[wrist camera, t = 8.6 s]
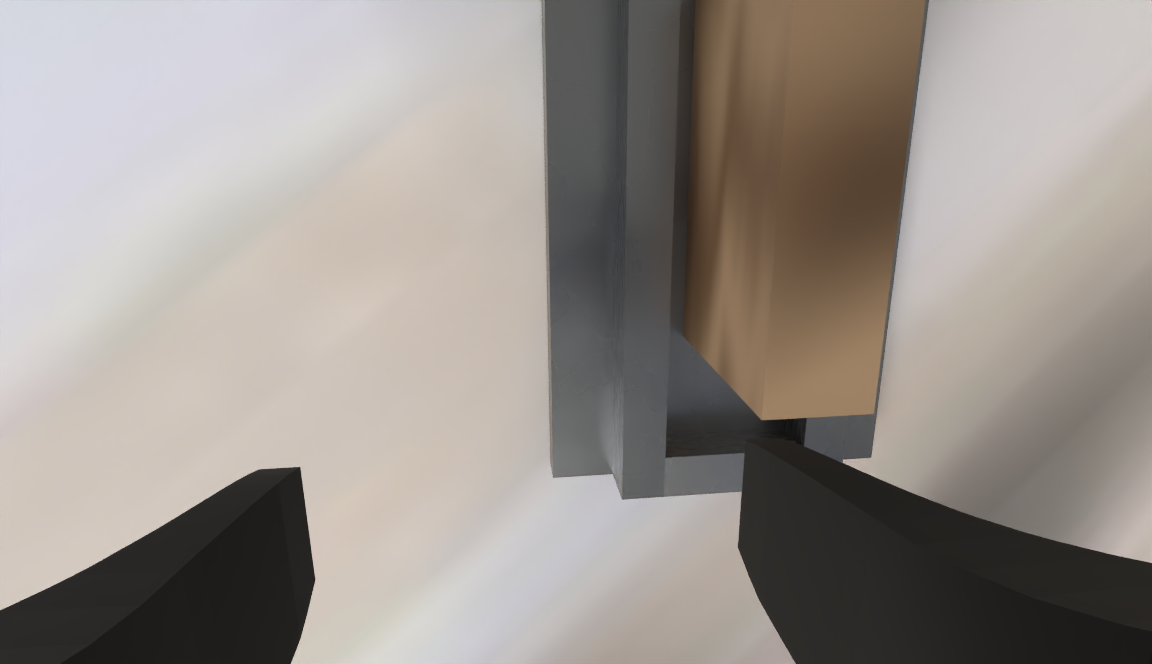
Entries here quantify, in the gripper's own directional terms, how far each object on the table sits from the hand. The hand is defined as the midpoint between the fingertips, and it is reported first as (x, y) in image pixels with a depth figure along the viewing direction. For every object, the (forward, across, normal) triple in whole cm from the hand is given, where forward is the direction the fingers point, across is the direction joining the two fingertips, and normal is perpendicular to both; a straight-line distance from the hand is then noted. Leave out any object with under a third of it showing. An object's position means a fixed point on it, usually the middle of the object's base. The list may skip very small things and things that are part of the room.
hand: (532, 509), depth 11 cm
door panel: (+8, -6, -5) cm, 11 cm away
